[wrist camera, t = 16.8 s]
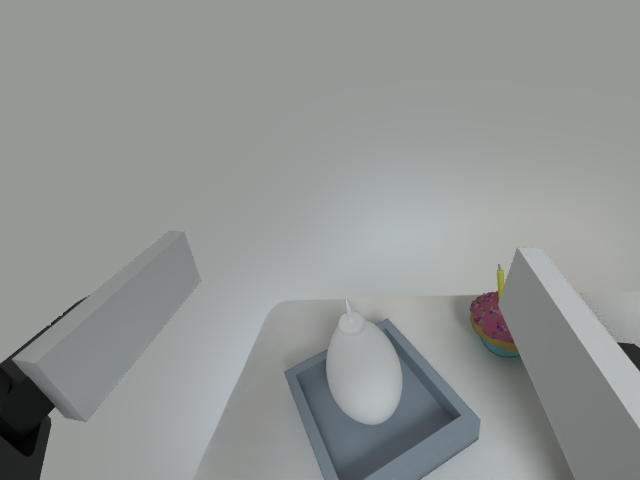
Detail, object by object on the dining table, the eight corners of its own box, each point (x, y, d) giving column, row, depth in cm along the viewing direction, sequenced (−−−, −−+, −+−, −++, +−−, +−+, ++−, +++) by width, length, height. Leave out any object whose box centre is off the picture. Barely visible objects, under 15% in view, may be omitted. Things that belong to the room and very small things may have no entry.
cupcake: (454, 335, 43) (456, 269, 37) (499, 309, 45) (508, 243, 39) (510, 383, 36) (524, 312, 30) (559, 349, 38) (582, 277, 32)
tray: (390, 336, 45) (387, 318, 43) (478, 439, 32) (480, 419, 30) (292, 389, 41) (284, 372, 39) (345, 530, 28) (338, 515, 26)
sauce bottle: (413, 388, 37) (403, 277, 27) (394, 456, 31) (372, 348, 22) (355, 368, 41) (327, 265, 31) (329, 425, 35) (286, 321, 26)
